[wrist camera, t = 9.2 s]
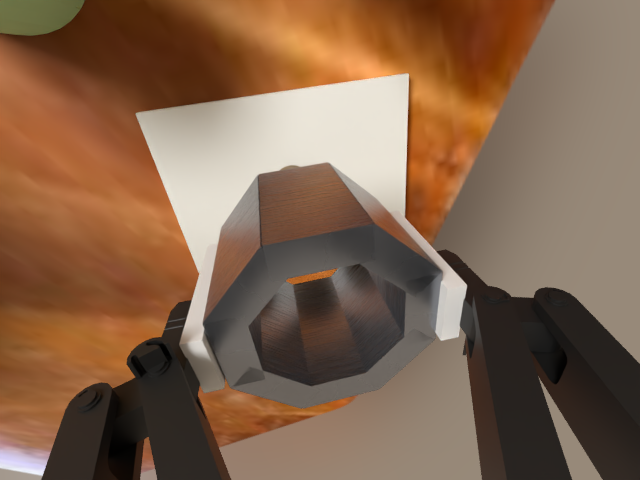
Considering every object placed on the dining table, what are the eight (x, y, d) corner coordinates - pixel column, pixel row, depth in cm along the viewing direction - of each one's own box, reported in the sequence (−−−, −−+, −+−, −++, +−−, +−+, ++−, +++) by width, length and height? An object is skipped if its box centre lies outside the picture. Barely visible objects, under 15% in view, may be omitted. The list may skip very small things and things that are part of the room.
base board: (200, 267, 29) (198, 272, 29) (139, 111, 22) (135, 113, 22) (401, 230, 31) (404, 234, 30) (404, 73, 24) (409, 73, 23)
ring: (247, 312, 19) (245, 423, 13) (206, 182, 15) (175, 262, 9) (378, 283, 20) (431, 376, 14) (375, 153, 16) (450, 208, 10)
